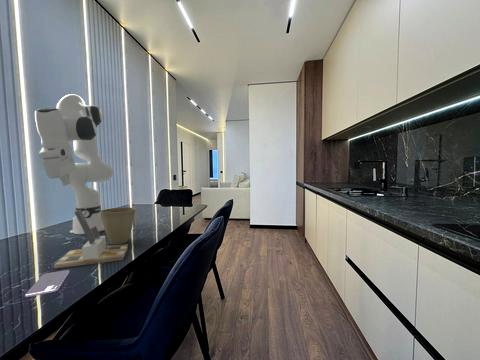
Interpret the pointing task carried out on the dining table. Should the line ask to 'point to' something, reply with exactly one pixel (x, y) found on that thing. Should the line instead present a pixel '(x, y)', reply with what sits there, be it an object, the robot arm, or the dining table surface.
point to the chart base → (77, 259)
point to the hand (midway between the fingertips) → (66, 184)
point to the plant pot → (118, 224)
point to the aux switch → (95, 232)
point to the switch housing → (94, 248)
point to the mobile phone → (48, 283)
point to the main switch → (85, 226)
